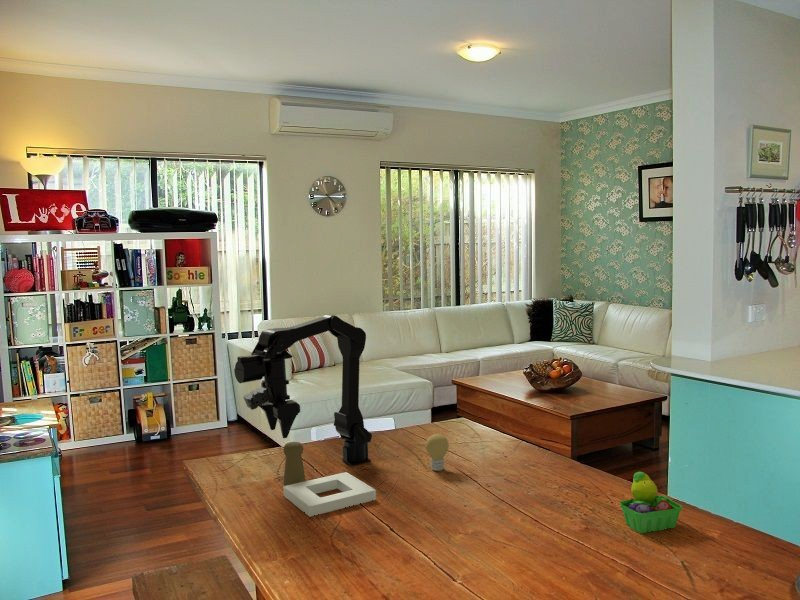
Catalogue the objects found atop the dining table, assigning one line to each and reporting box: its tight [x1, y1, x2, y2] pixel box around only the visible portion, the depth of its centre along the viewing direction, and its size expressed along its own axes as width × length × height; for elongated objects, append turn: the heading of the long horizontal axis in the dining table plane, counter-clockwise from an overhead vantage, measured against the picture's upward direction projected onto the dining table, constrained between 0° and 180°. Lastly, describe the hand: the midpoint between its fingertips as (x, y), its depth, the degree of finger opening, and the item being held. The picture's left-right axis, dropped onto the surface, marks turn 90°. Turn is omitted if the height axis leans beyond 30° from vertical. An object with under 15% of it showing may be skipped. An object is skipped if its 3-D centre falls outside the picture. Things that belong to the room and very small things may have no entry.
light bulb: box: [425, 433, 450, 472], centre depth 188 cm, size 6×6×10 cm
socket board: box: [282, 471, 377, 518], centre depth 170 cm, size 18×16×2 cm
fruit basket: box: [619, 471, 683, 534], centre depth 149 cm, size 11×9×11 cm
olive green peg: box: [282, 441, 307, 486], centre depth 181 cm, size 6×6×11 cm
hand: (278, 433), depth 181 cm, fingers open, 9 cm apart
